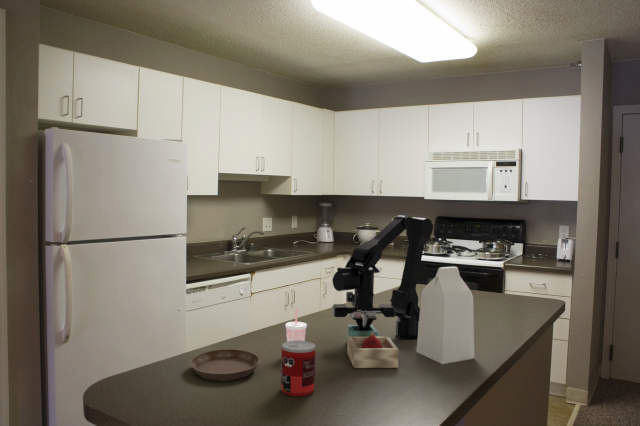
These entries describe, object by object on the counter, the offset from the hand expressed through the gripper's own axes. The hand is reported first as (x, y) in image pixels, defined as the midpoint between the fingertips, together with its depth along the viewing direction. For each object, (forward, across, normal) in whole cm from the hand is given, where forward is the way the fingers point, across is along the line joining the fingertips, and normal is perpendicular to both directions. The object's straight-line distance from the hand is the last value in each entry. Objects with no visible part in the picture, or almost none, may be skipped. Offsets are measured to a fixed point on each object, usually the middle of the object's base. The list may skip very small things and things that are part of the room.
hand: (362, 338), depth 159 cm
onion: (+3, 0, +14) cm, 14 cm away
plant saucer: (+3, +40, +20) cm, 45 cm away
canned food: (+3, +22, +34) cm, 41 cm away
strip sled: (+2, 0, +7) cm, 8 cm away
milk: (+3, -23, +9) cm, 25 cm away
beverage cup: (+3, +21, +8) cm, 23 cm away
